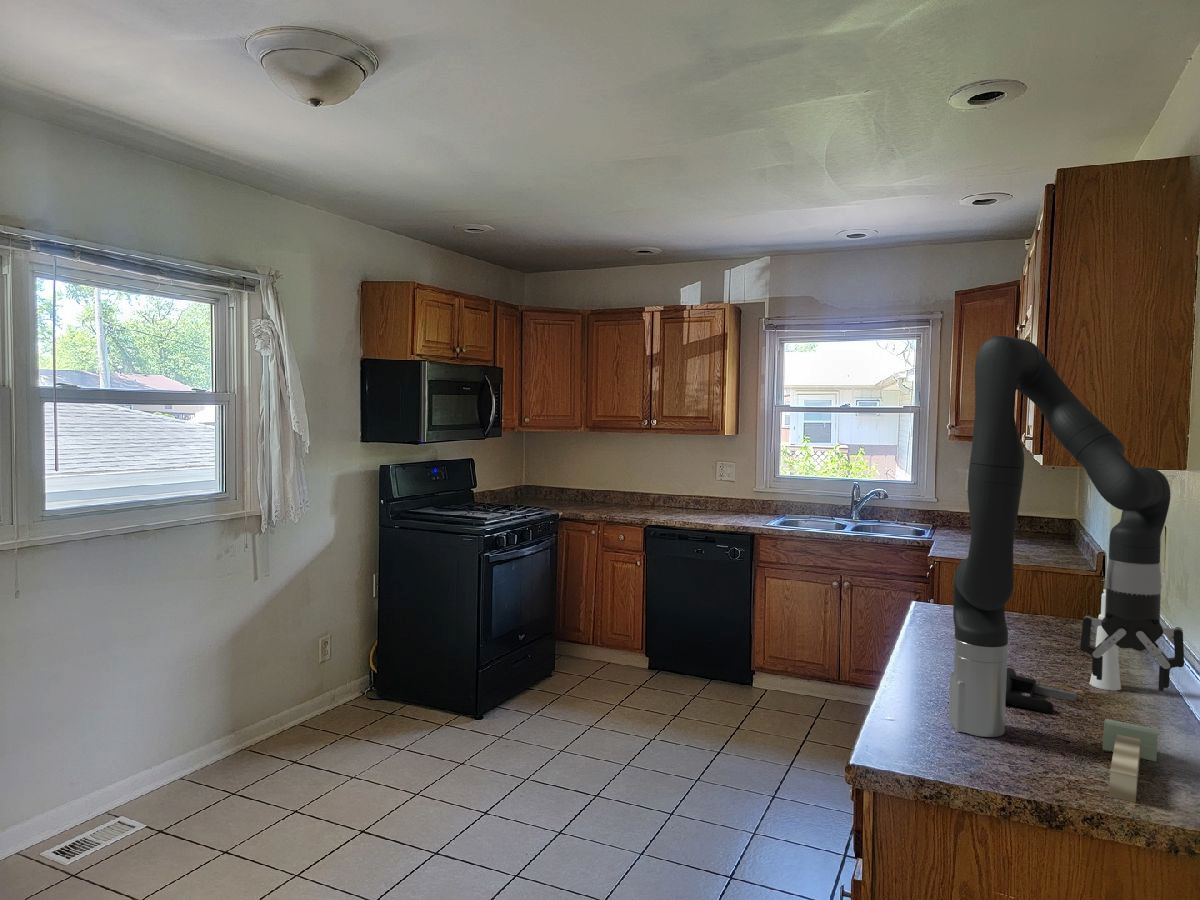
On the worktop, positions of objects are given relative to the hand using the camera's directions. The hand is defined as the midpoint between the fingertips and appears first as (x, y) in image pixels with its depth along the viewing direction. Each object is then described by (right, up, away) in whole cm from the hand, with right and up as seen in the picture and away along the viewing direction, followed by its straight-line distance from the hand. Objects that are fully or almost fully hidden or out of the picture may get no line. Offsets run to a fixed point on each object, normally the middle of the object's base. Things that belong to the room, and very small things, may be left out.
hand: (1129, 684), depth 131 cm
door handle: (+5, -15, +39) cm, 42 cm away
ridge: (+8, -16, +12) cm, 21 cm away
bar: (0, -16, +1) cm, 16 cm away
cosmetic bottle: (+26, -15, +47) cm, 55 cm away
